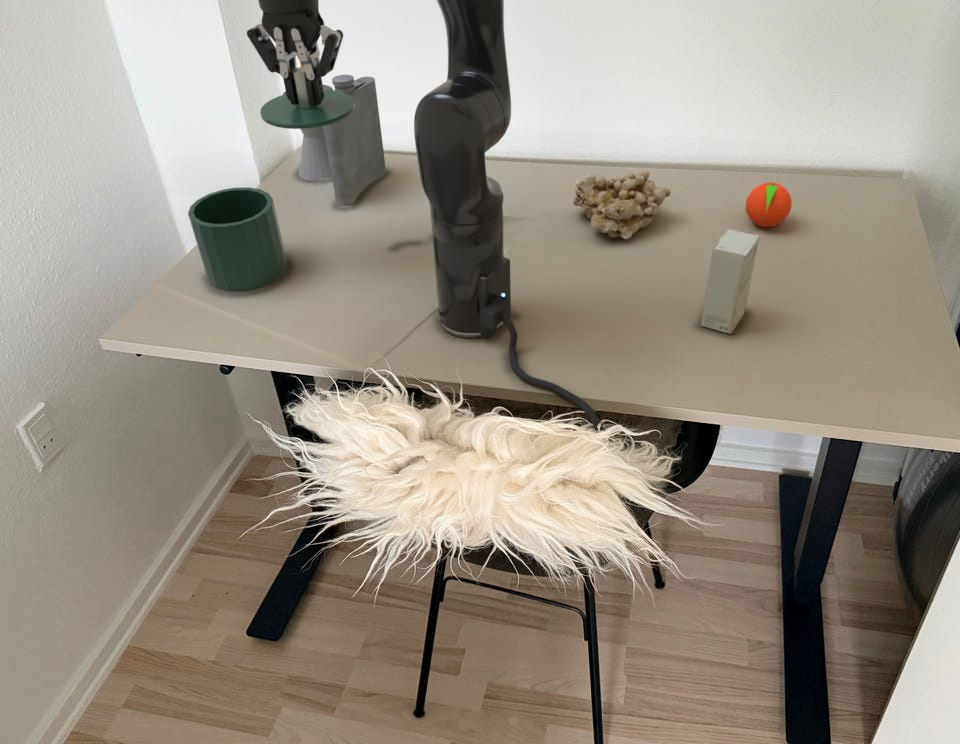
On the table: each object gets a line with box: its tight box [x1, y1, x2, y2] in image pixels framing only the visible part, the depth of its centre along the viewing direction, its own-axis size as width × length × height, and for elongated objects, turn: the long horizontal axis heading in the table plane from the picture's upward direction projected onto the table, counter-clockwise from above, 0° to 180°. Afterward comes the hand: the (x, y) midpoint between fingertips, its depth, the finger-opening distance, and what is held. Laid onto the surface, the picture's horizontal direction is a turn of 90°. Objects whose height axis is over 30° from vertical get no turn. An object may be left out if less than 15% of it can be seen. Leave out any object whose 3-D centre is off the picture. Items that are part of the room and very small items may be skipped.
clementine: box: [745, 181, 793, 228], centre depth 126 cm, size 8×7×7 cm
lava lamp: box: [282, 53, 334, 183], centre depth 139 cm, size 9×9×35 cm
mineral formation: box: [572, 169, 672, 240], centre depth 129 cm, size 8×13×15 cm
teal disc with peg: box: [259, 66, 355, 130], centre depth 110 cm, size 13×13×6 cm
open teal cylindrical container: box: [187, 187, 288, 293], centre depth 120 cm, size 12×12×12 cm
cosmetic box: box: [700, 228, 760, 335], centre depth 106 cm, size 6×4×12 cm
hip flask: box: [323, 74, 387, 207], centre depth 138 cm, size 16×4×20 cm, turn 159°
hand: (307, 103), depth 111 cm, fingers closed on teal disc with peg, 2 cm apart
